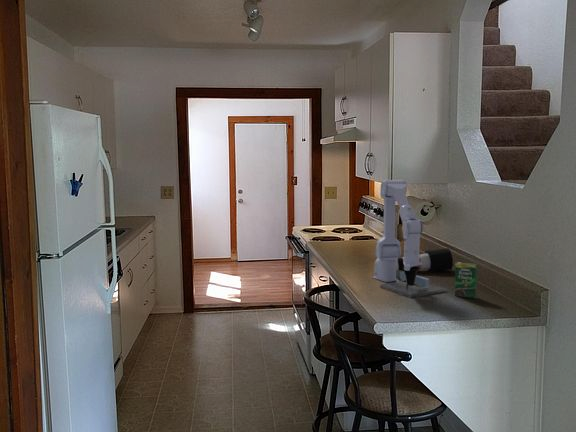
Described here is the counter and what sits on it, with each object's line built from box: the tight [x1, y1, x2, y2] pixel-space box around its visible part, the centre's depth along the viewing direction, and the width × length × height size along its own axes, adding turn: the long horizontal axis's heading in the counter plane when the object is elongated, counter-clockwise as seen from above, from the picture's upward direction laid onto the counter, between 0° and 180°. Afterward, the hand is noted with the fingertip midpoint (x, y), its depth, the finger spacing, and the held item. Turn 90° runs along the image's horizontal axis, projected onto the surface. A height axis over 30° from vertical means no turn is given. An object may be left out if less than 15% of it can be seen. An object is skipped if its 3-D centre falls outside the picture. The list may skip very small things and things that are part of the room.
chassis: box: [379, 279, 448, 299], centre depth 218 cm, size 18×19×3 cm
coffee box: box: [454, 261, 478, 299], centre depth 207 cm, size 8×3×13 cm, turn 58°
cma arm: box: [396, 270, 430, 287], centre depth 217 cm, size 18×3×3 cm, turn 30°
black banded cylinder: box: [396, 247, 454, 273], centre depth 250 cm, size 10×34×10 cm, turn 91°
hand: (410, 285), depth 209 cm, fingers closed
